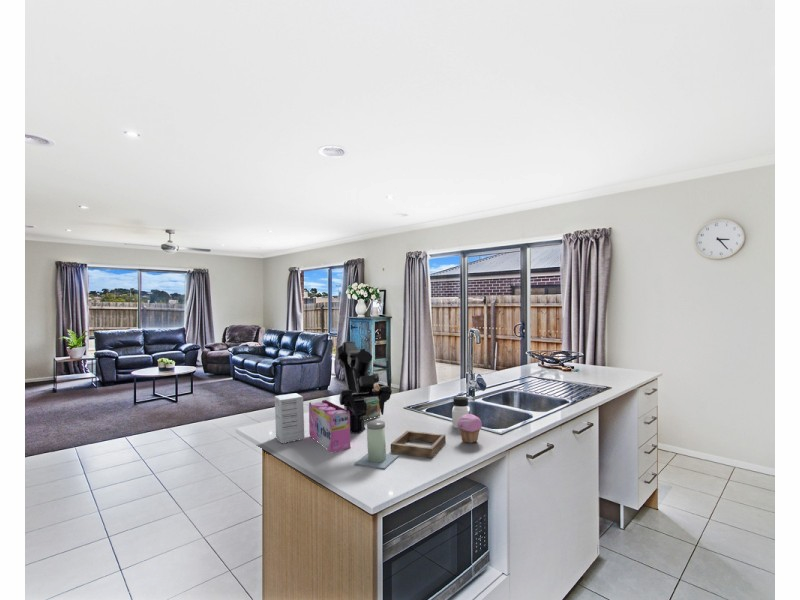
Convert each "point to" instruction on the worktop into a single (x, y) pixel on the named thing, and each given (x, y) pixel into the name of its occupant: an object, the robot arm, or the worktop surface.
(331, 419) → the gum box
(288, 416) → the supplement box
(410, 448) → the walnut frame
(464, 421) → the cupcake
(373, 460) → the plastic jar
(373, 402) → the milk carton
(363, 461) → the rubber mat
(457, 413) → the medicine bottle
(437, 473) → the worktop surface
